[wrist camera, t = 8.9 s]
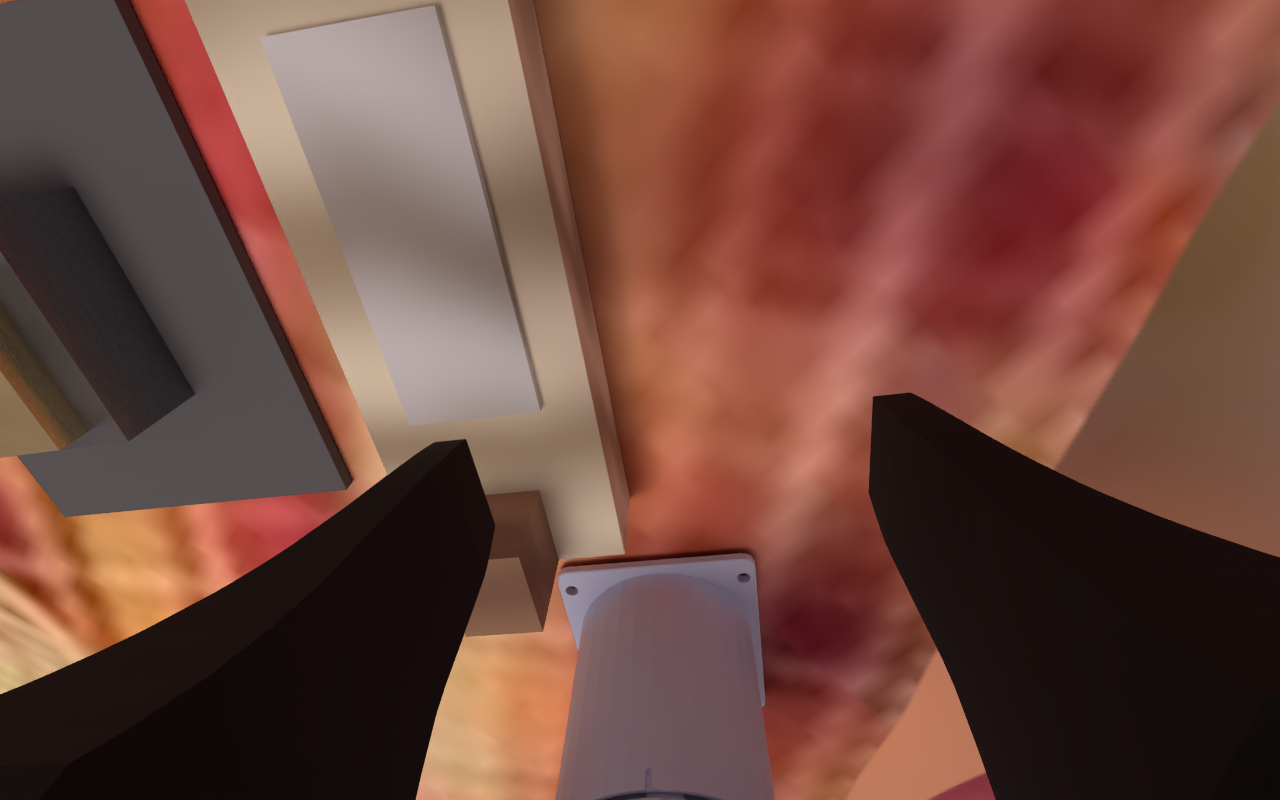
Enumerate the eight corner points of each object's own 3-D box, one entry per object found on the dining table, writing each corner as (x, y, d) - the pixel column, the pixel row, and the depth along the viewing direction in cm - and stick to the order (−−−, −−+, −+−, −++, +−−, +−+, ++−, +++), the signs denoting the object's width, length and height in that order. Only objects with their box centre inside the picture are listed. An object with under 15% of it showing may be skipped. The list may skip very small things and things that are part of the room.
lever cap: (195, 394, 21) (101, 460, 18) (81, 408, 22) (-33, 476, 18) (74, 186, 18) (-72, 217, 14) (-58, 209, 18) (-230, 245, 15)
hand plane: (629, 498, 23) (618, 626, 18) (454, 514, 24) (394, 641, 19) (463, -357, 12) (315, -657, 7) (156, -280, 13) (-179, -501, 8)
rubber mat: (352, 481, 23) (346, 489, 23) (75, 508, 25) (64, 516, 24) (121, -15, 16) (106, -17, 15) (-265, 62, 17) (-289, 62, 16)
